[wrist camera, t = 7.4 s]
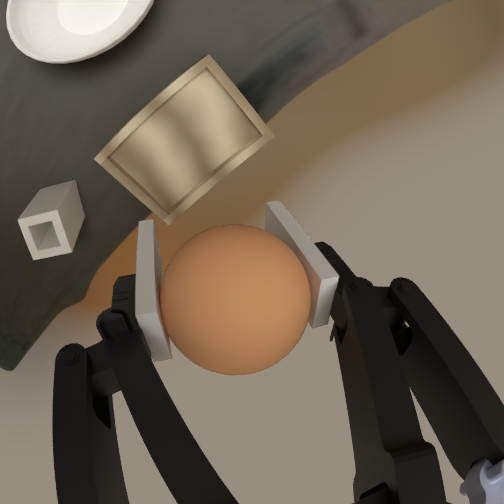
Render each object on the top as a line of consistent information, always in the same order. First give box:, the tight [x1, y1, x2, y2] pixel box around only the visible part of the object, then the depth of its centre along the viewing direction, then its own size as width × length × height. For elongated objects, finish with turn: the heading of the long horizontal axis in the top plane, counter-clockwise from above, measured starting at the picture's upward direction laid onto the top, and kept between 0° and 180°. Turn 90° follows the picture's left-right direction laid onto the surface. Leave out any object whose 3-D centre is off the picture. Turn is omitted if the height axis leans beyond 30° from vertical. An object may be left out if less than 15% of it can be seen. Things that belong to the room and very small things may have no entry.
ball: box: [160, 224, 311, 375], centre depth 12 cm, size 6×6×6 cm
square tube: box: [18, 180, 85, 260], centre depth 29 cm, size 5×5×8 cm
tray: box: [94, 54, 274, 226], centre depth 31 cm, size 16×12×2 cm
